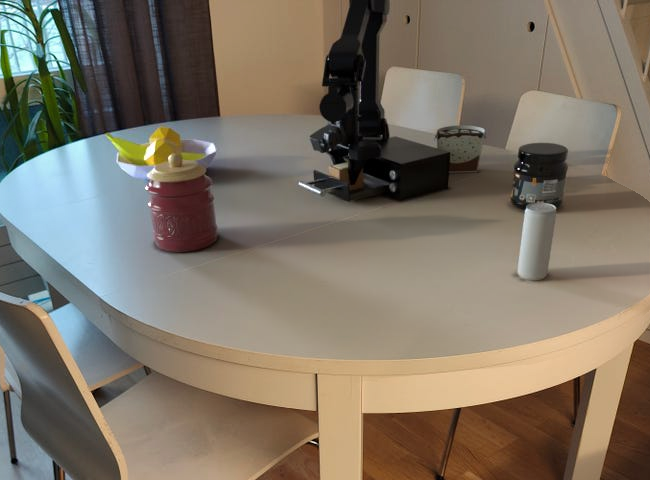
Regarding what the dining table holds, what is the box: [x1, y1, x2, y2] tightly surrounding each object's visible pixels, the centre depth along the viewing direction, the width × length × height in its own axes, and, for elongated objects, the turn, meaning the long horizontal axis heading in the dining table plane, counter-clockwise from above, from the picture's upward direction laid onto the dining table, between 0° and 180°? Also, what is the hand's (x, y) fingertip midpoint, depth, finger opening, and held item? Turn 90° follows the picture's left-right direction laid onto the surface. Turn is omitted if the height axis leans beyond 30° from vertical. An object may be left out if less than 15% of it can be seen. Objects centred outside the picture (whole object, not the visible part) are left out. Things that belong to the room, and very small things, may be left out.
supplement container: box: [510, 142, 569, 212], centre depth 142 cm, size 10×10×12 cm
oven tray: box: [298, 169, 390, 203], centre depth 156 cm, size 14×18×4 cm
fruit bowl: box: [105, 125, 218, 181], centre depth 179 cm, size 28×27×11 cm
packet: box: [328, 162, 363, 190], centre depth 156 cm, size 4×6×5 cm
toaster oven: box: [363, 136, 450, 202], centre depth 160 cm, size 20×15×8 cm
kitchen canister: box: [145, 153, 219, 253], centre depth 135 cm, size 13×13×18 cm
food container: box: [433, 124, 487, 174], centre depth 168 cm, size 12×6×10 cm, turn 84°
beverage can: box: [517, 203, 557, 281], centre depth 113 cm, size 5×5×12 cm
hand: (346, 182), depth 157 cm, fingers closed on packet, 4 cm apart
